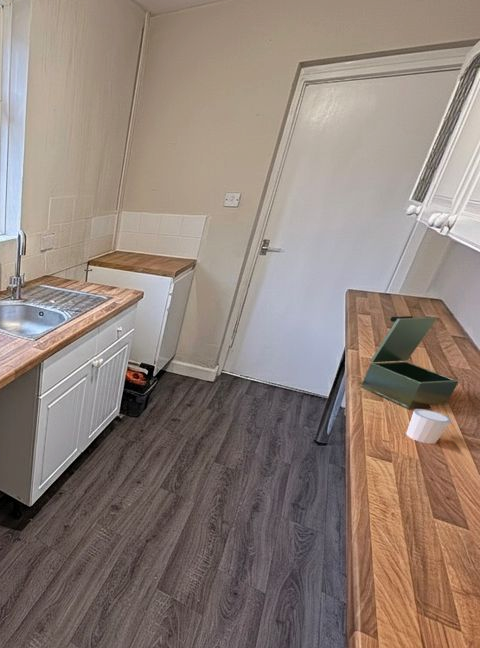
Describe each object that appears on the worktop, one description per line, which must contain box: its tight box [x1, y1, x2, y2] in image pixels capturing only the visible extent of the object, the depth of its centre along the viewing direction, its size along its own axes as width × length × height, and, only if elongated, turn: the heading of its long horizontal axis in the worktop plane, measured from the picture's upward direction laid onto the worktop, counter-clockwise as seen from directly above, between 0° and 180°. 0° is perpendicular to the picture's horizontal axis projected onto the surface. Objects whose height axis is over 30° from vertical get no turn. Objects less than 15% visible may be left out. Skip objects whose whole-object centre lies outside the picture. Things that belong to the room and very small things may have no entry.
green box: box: [360, 361, 460, 410], centre depth 129 cm, size 15×13×9 cm
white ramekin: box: [405, 408, 452, 445], centre depth 108 cm, size 7×7×7 cm
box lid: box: [370, 315, 437, 363], centre depth 131 cm, size 15×13×5 cm
